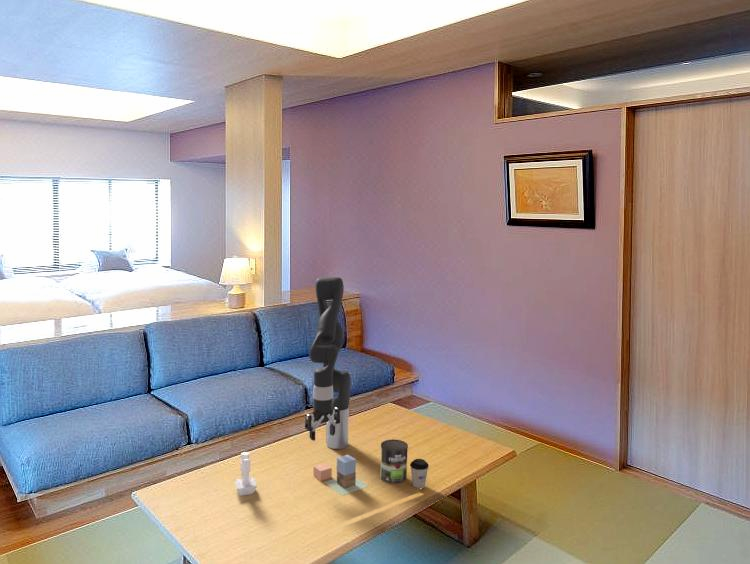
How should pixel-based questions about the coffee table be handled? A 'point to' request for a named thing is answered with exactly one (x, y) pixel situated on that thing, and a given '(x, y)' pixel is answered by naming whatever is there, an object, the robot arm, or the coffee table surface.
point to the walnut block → (346, 480)
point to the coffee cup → (419, 472)
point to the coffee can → (393, 461)
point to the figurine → (245, 477)
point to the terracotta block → (322, 471)
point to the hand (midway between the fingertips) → (322, 437)
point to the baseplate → (343, 491)
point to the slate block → (346, 465)
